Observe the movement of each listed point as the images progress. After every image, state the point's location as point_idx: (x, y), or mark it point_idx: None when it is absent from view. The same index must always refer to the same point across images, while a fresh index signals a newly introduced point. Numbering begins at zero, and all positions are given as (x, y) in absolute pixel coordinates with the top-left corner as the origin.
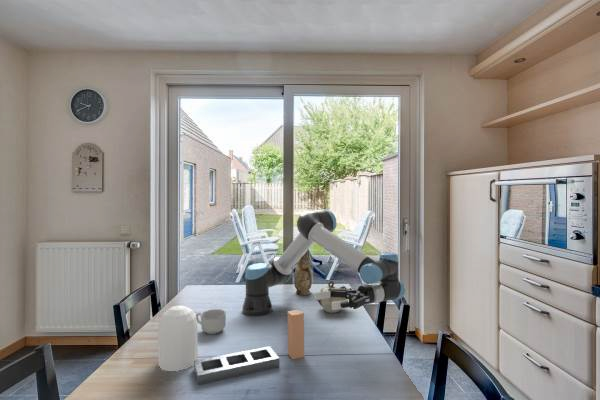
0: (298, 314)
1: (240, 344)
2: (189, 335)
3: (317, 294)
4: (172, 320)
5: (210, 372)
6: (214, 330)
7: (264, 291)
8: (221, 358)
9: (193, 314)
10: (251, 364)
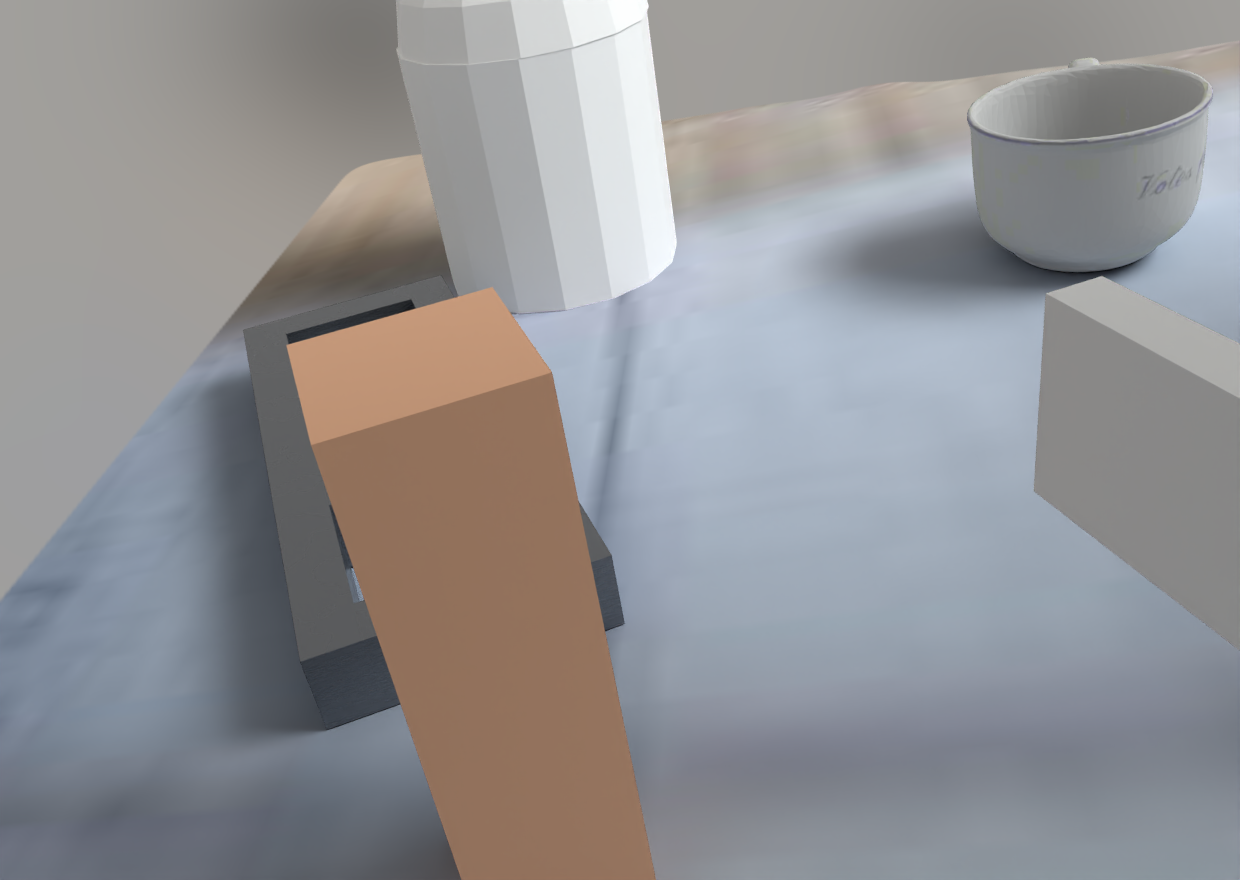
0: (299, 396)
1: (839, 414)
2: (438, 107)
3: (1082, 362)
4: None
5: (251, 359)
6: (991, 229)
7: None
8: None
9: None
10: (273, 504)
